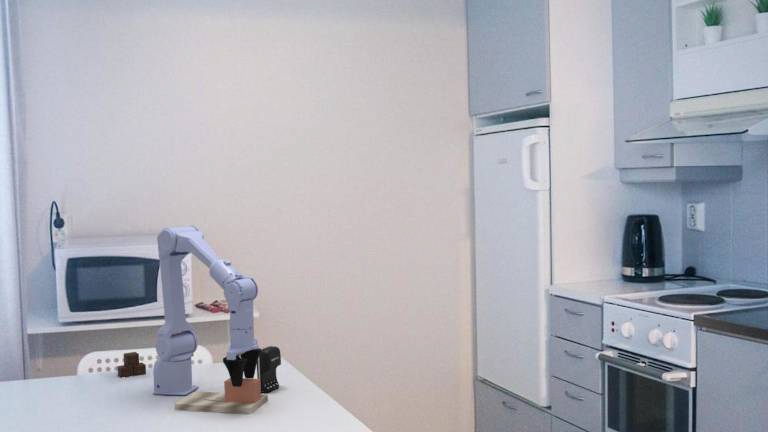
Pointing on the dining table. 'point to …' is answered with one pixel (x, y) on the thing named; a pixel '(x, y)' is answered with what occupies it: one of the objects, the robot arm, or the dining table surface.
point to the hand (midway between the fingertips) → (243, 382)
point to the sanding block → (243, 391)
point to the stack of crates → (131, 366)
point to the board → (216, 403)
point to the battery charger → (268, 368)
